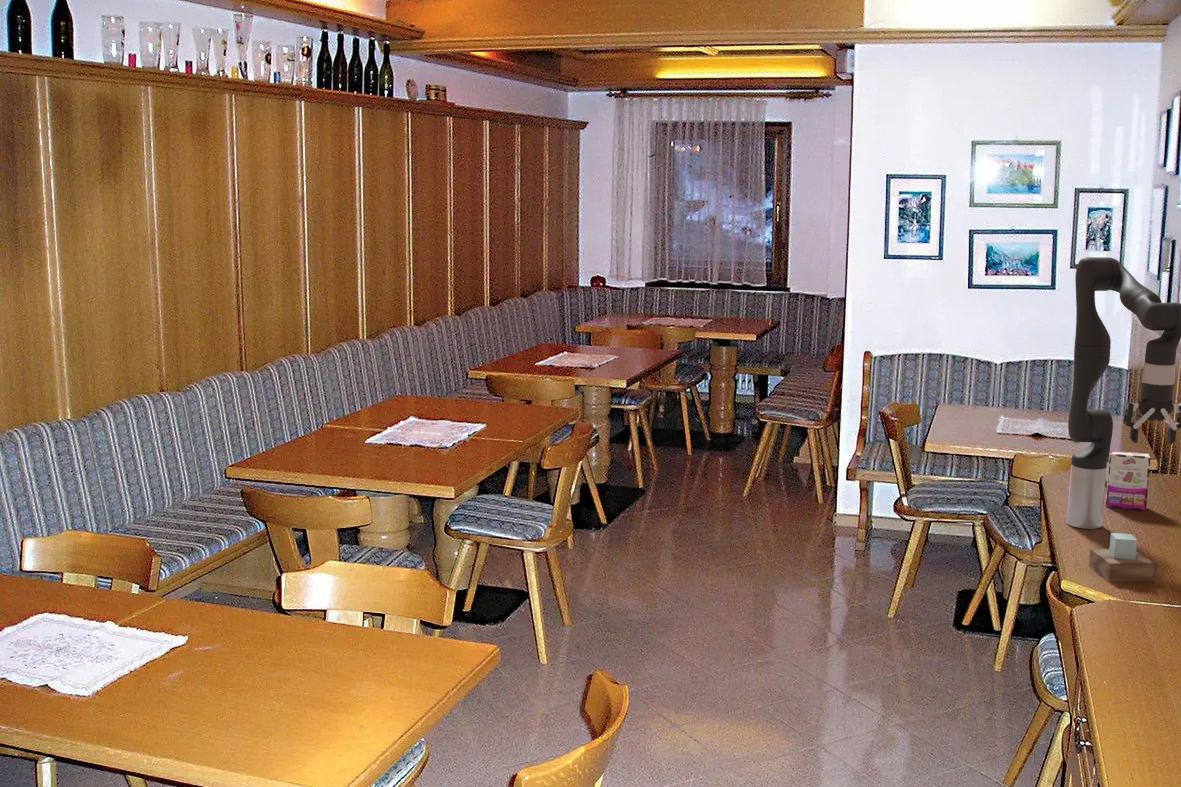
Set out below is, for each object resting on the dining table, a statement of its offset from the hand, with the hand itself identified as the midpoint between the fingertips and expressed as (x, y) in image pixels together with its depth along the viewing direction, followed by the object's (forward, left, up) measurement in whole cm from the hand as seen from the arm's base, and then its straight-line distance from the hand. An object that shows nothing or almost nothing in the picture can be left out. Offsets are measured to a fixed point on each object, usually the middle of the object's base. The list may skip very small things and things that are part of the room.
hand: (1152, 443), depth 308 cm
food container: (-66, +12, -30) cm, 74 cm away
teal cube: (+16, -9, -26) cm, 31 cm away
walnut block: (+16, -9, -30) cm, 36 cm away
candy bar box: (-47, +9, -30) cm, 57 cm away
